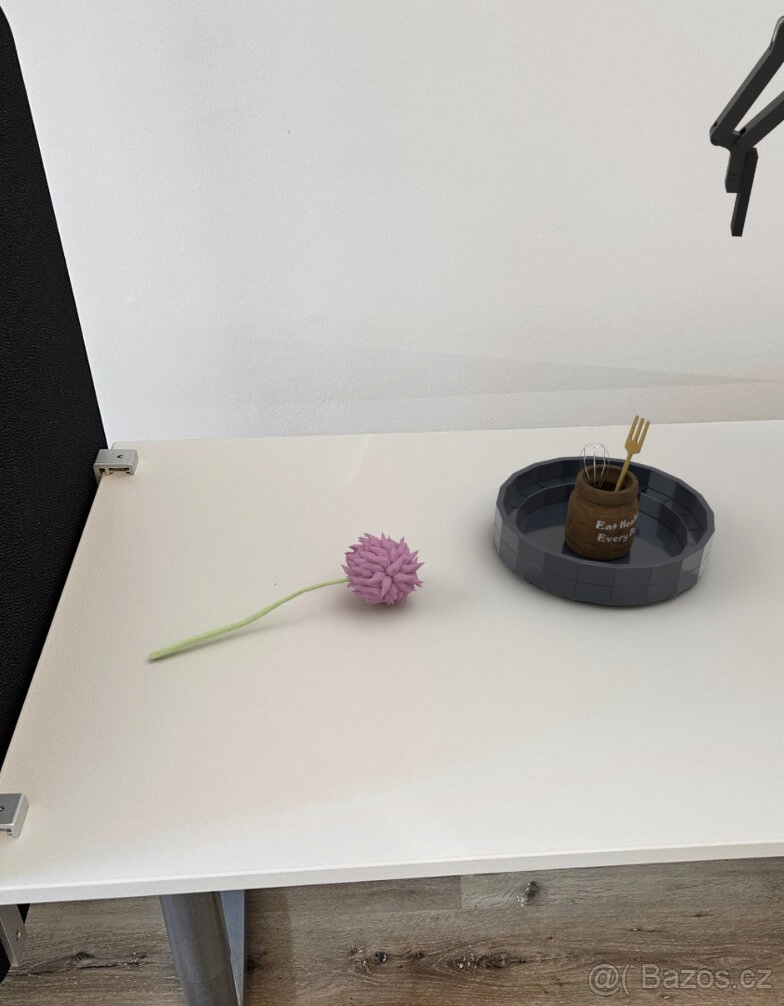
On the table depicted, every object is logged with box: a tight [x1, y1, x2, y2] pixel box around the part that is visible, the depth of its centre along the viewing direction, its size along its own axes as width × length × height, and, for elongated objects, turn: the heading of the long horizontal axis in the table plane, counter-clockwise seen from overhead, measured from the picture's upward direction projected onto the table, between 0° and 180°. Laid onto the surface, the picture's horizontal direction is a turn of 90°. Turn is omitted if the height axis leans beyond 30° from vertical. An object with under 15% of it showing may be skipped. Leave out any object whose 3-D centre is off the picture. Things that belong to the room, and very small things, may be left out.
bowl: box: [492, 455, 716, 606], centre depth 97 cm, size 18×18×4 cm
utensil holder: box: [565, 414, 651, 560], centre depth 95 cm, size 6×6×12 cm
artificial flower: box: [148, 531, 426, 660], centre depth 91 cm, size 7×7×25 cm
